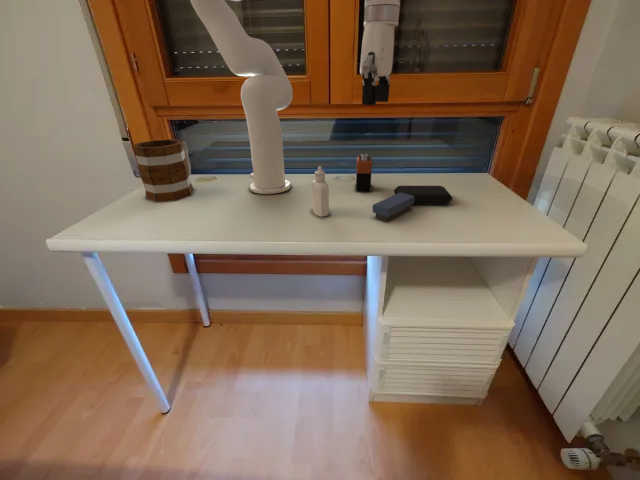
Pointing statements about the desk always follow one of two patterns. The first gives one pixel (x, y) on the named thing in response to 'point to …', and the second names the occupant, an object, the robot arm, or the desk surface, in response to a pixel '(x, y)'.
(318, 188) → the eye dropper bottle
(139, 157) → the mug
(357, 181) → the battery
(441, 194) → the carrying case
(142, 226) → the desk surface
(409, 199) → the navy rectangular block
